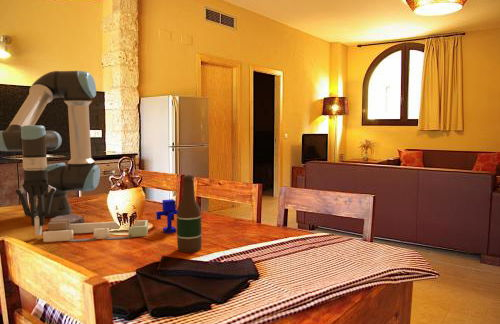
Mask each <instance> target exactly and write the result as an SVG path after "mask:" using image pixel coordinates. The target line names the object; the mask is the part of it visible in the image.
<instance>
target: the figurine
mask: <svg viewBox="0 0 500 324" xmlns="http://www.w3.org/2000/svg"><path fill="white" fill-rule="evenodd" d="M161 203H162V211H161V210H160V211H155V212H156V213H155V214H156V220H158V221H159V220H162V216H164V217H166V224H167V226H166V227H163V228H162V232H164V233H165V234H173V233H177V227H175V226H172V225H173V223H172V222H173V221H175V215H177V207H176V206H177V205H176V203H177V201H176V200H175V199H173V198H171V199H170V198H169V199H162V202H161Z"/></svg>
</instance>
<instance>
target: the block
mask: <svg viewBox="0 0 500 324" xmlns="http://www.w3.org/2000/svg"><path fill="white" fill-rule="evenodd" d="M49 221H50V220H49ZM64 230H70V219H61V220H52V221H50V222H48V223H47V231H64Z"/></svg>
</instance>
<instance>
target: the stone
mask: <svg viewBox="0 0 500 324" xmlns="http://www.w3.org/2000/svg"><path fill="white" fill-rule="evenodd" d="M61 219H70V224H80V223H86V222H85V218H84V216H81V215H79V214H74V213H69V214H66V215H62V216H55V217H51V218H50V219H49V222H50V221H52V220H61ZM49 222H48V223H49Z"/></svg>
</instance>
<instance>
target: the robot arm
mask: <svg viewBox="0 0 500 324" xmlns="http://www.w3.org/2000/svg"><path fill="white" fill-rule="evenodd" d="M28 92H29V94H28V95H27V97H26V99H25V100H24V102H23V103H22V105H21V107H20V108H19V110H18V111H17V113H16V114H15V116H14V117H13V118H12V121H11V122H10V124H9V125H8V127H7V128H6V129H5V130H0V152H22V157H21V158H22V168H23V169H24V170H23V172H22V173H23V175H22V176H23V183H22V186H21V187H20V188H18V189H16V190H15V193H16V194H17V196H18V197H19V200H20V203H21V206H22V210H23V212H24V216H26V217H30V218H31V219H30V221H31V222H30V223H31V226H32V227H34V235H35V237H38V236H39V237H40V236H41V235H43V226H44V225H45V218H54V217H57V216H64V215H69V214H72V205H71V203H70V202H69V199H68V196H67V195H68V194H67V192H89V191H94V190H96V189H97V187H98V186H99V184H100V179H101V169H100V166H99V165H98V164H96V161H95V160H94V159H93V158H92V147H91V129H90V128H91V127H90V126H91V125H90V109H89V107H90V104H91V103H92V102H93V99H94V98H95V97H96V96H97V86H96V82H95V79H94V77H93V75H92V74H91V73H90V72H89V71H84V70H83V71H82V70H54V71H49V72H47V73H45V74H43V75H42V76H40V77H39V78H37V79H36V80H35V81H33V83H32V84H31V86H30V88H29V91H28ZM57 98H63V102H64V103H65V104H66V105H67V111H68V112H67V113H68V128H69V129H68V130H69V146H70V148H69V149H70V159H69V160H68V162H67V165H66V163H65V162H58V163H57V162H56V163H51V164H48V157H47V152H48V151H51V152H52V151H55V150H58V149H59V148H60V146H61V145H62V141H63V140H62V136H61V135H60V134H59V132H57V131H55V130H51V129H50V130H46V127H45V126H44V125H36V123H37V122H38V120H39V119H40V116H41V115H42V114H43V112H44V110H45V108H46V107H47V104H49V103H51V102H52V101H53V99H57ZM26 193H27V194H28V198H29V202H28V200H27V199H28V198H27V196H26Z"/></svg>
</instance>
